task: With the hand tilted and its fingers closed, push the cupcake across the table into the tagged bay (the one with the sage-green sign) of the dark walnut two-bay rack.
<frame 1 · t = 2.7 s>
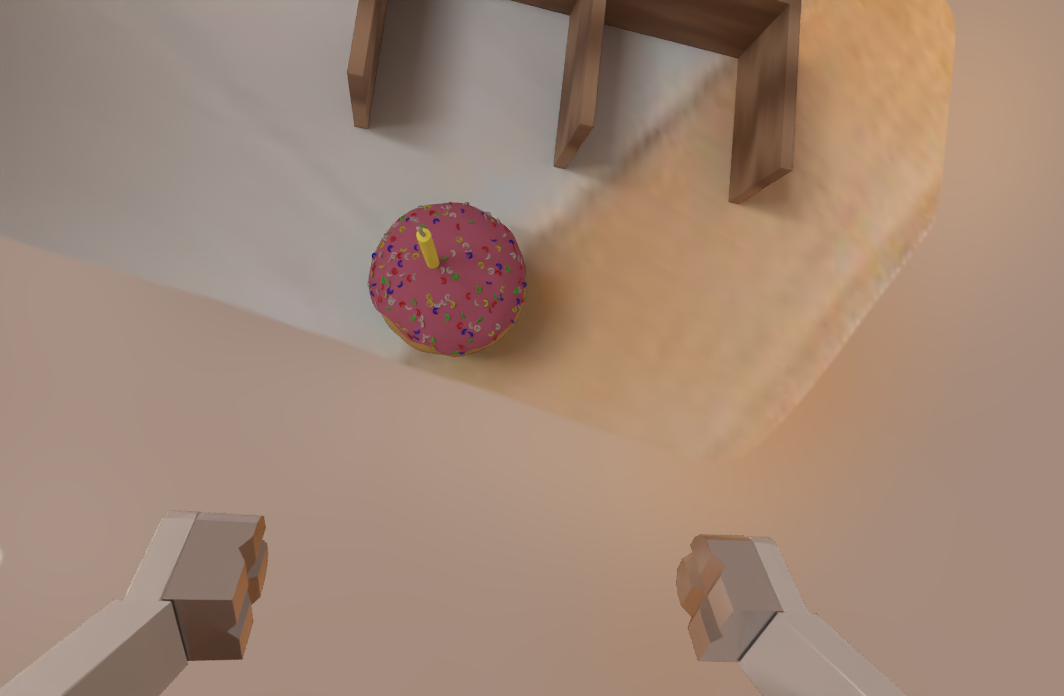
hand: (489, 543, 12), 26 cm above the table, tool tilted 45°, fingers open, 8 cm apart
cupcake: (444, 294, 38), on the table
walnut rack: (568, 85, 41), on the table
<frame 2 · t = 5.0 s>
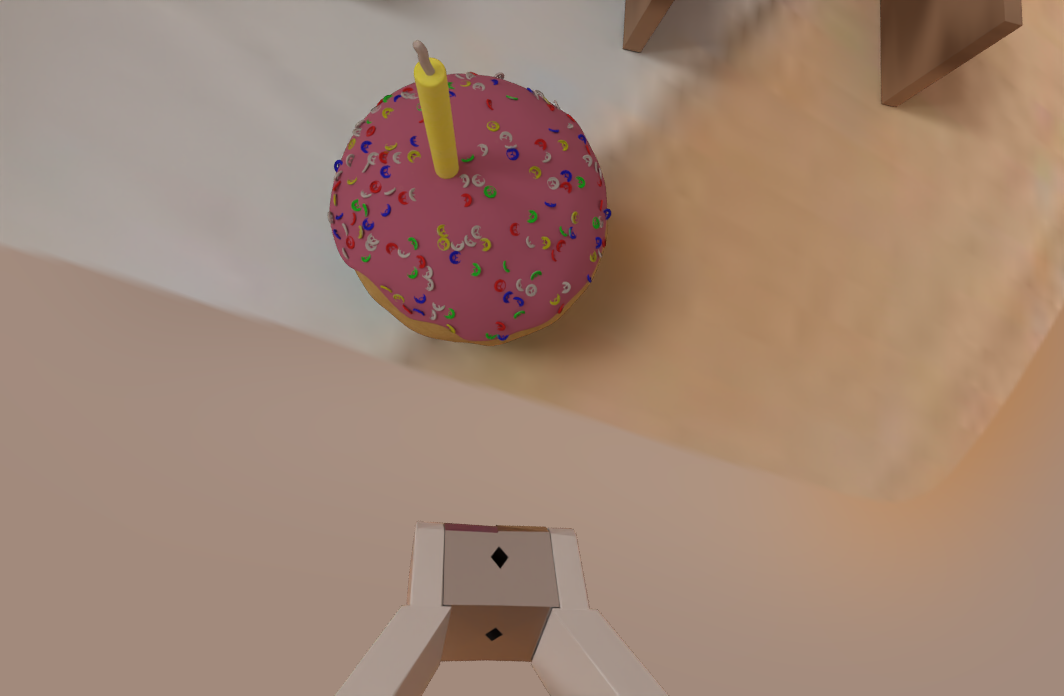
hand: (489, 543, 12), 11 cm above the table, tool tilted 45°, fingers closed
cupcake: (461, 249, 24), on the table
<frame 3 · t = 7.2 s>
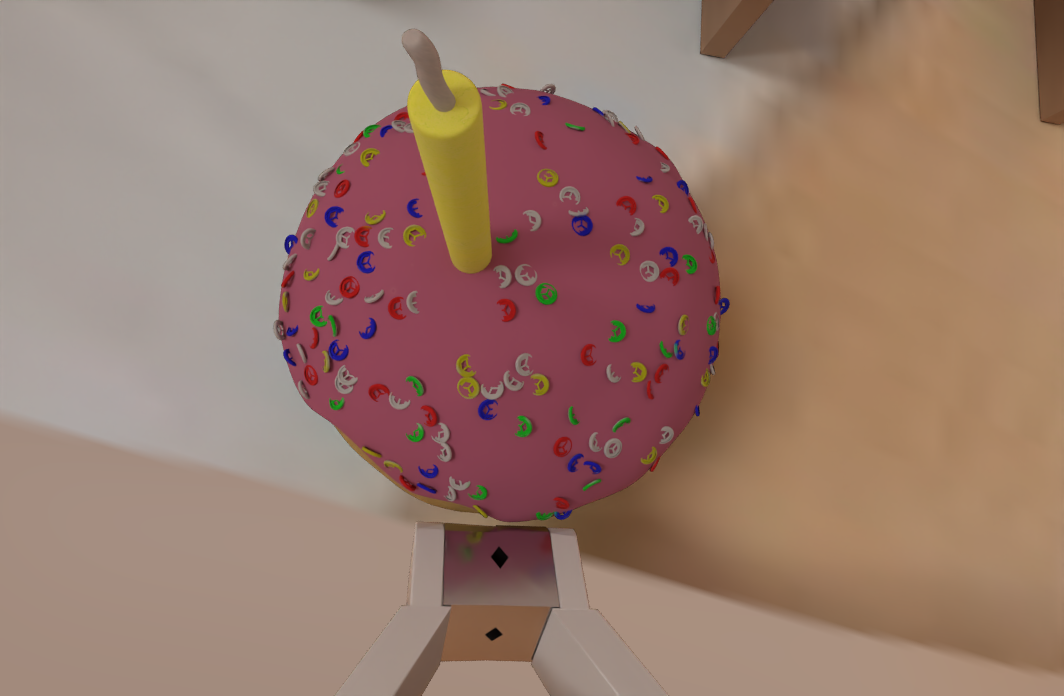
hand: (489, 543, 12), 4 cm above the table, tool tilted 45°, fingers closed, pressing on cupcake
cupcake: (485, 333, 17), on the table, touching gripper
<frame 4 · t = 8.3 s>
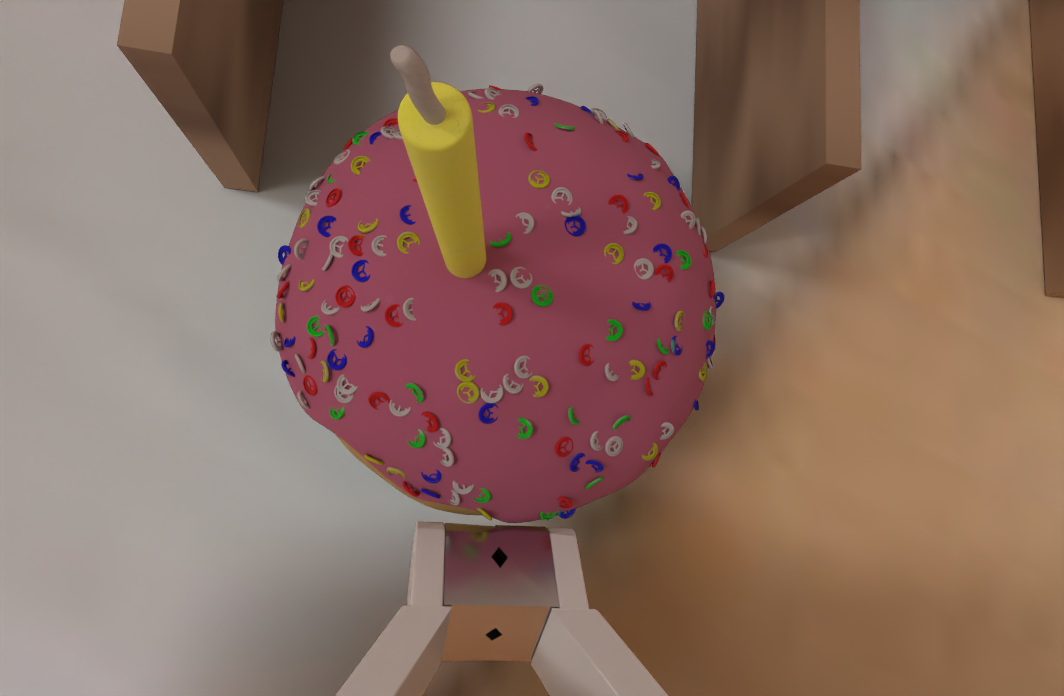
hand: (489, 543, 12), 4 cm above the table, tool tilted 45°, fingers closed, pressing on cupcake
cupcake: (482, 333, 17), on the table, touching gripper
walnut rack: (707, 66, 19), on the table
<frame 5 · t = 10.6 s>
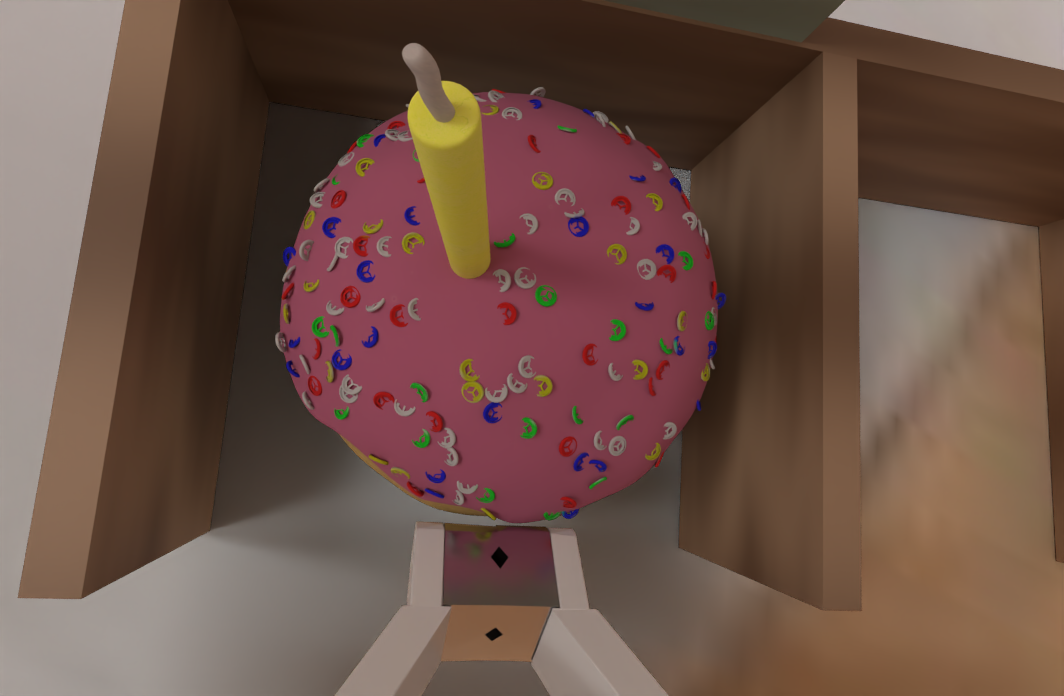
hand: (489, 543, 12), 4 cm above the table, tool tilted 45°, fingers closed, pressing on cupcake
cupcake: (484, 336, 17), on the table, touching gripper
walnut rack: (698, 338, 18), on the table
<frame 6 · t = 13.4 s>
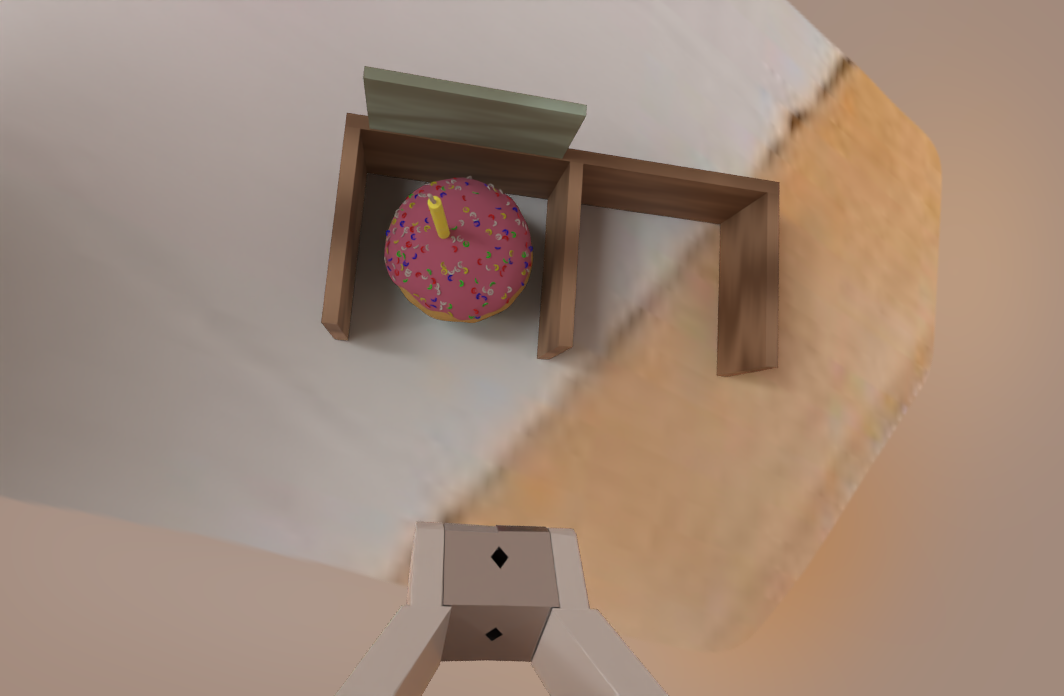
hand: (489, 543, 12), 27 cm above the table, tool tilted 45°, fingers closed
cupcake: (455, 269, 40), on the table
walnut rack: (548, 272, 41), on the table
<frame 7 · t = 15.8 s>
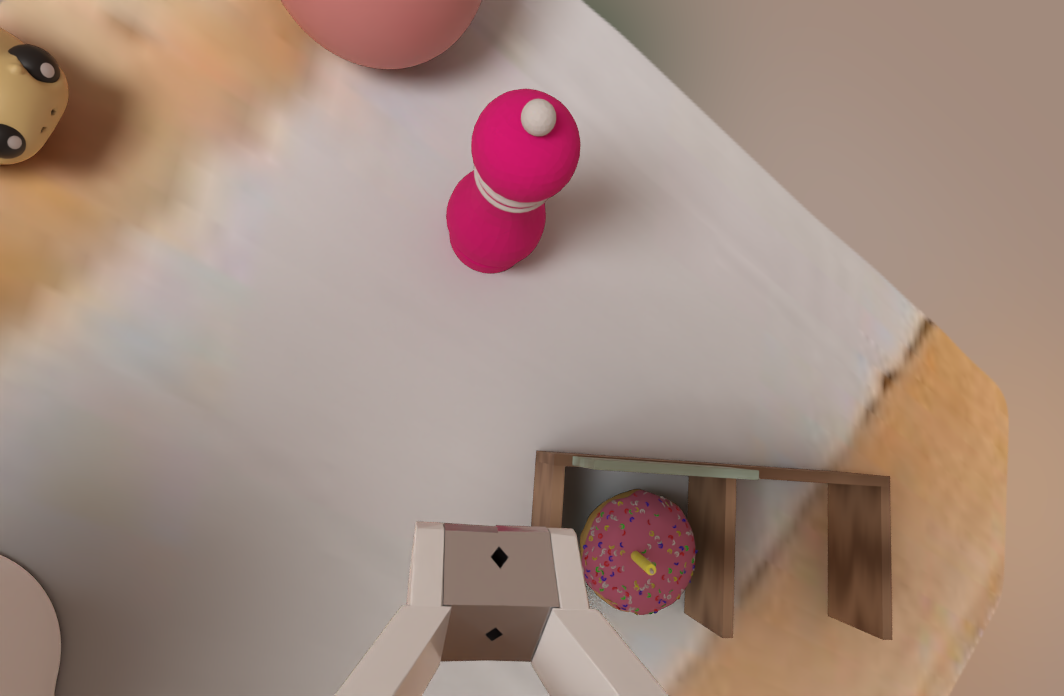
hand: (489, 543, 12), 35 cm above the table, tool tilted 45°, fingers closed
beige toy head: (11, 127, 43), on the table
pepper mill: (487, 236, 49), on the table
cupcake: (616, 539, 48), on the table
balloon: (354, 12, 50), on the table
walnut rack: (691, 536, 49), on the table
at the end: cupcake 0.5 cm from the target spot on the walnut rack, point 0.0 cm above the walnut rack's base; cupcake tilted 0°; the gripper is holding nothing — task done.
